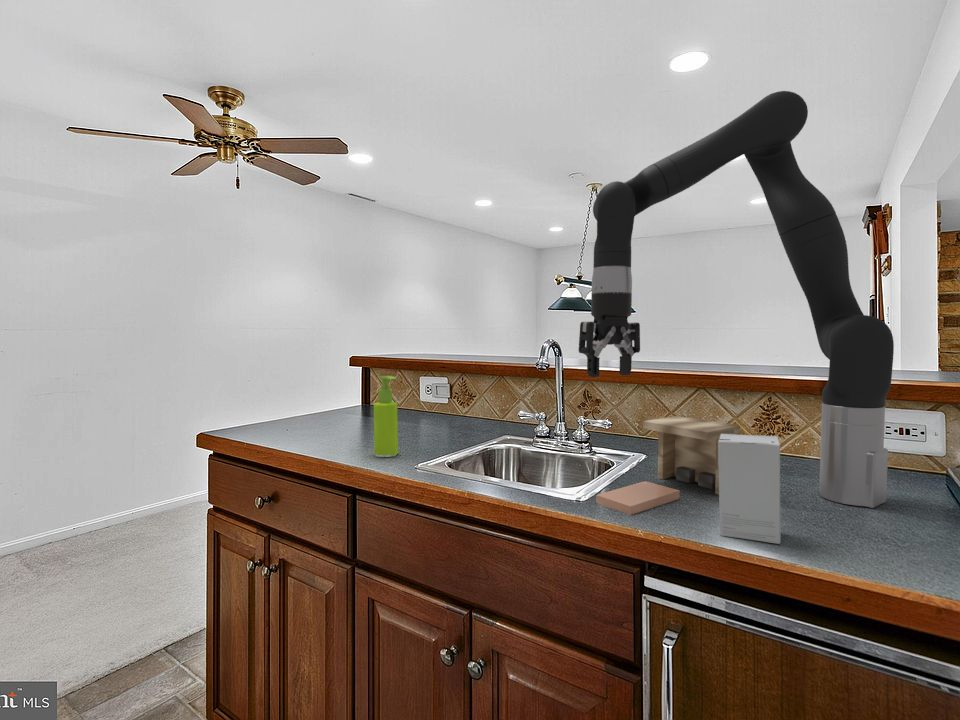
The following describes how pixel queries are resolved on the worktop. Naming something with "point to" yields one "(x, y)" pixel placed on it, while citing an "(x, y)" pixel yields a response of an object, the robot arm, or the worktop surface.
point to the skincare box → (749, 487)
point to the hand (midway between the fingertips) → (609, 375)
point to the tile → (637, 497)
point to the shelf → (689, 448)
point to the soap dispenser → (385, 420)
